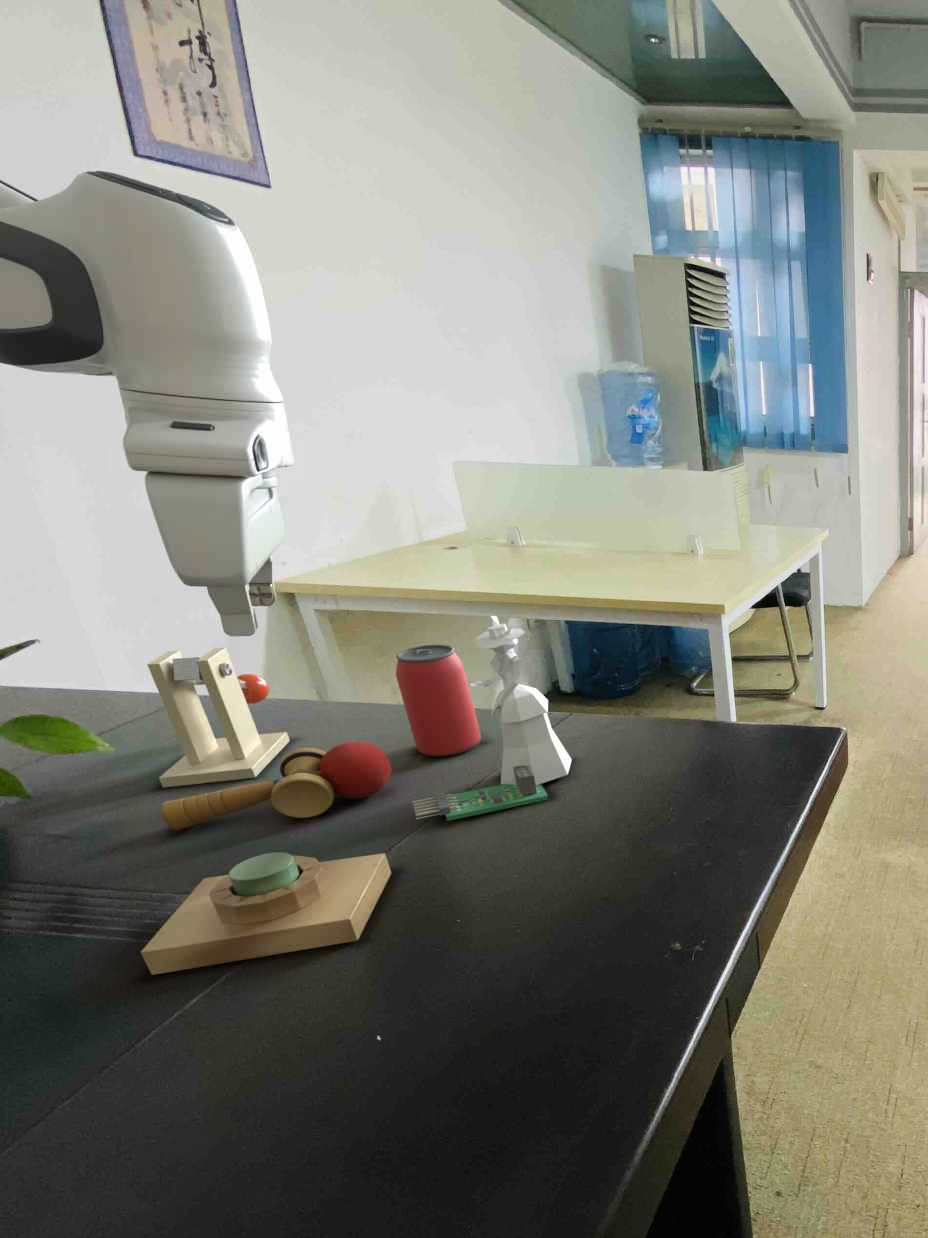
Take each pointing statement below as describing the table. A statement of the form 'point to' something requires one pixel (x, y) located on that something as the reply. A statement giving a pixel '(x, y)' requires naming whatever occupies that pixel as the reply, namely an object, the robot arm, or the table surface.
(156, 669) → the bracket
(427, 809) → the circuit board
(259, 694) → the lever
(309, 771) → the kendama
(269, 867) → the button
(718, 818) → the table surface
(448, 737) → the beer can
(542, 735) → the figurine
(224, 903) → the button block
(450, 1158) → the table surface
